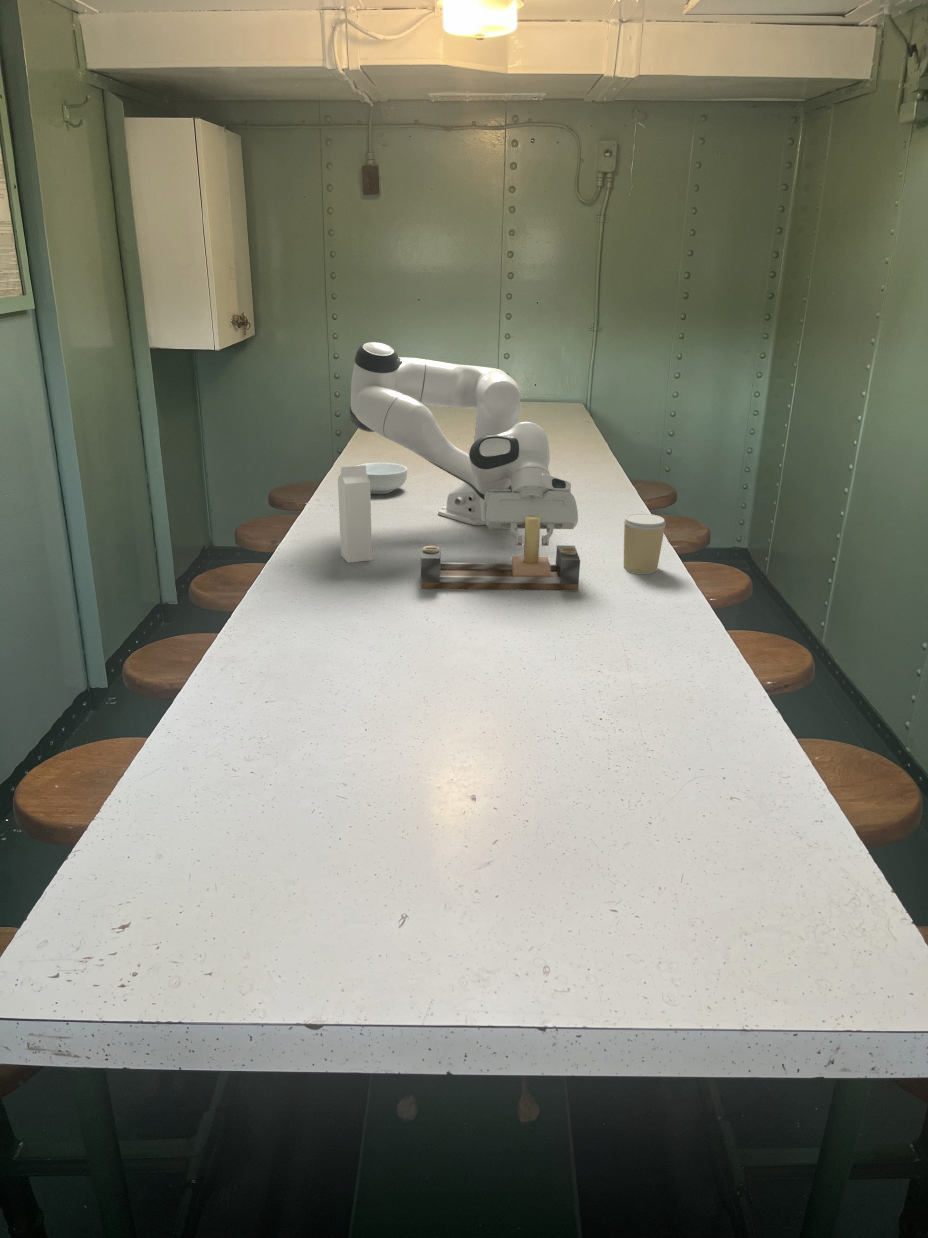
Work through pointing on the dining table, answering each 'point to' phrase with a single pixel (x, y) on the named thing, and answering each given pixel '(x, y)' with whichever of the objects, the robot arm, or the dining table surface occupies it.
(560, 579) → the rail track
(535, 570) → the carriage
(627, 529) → the coffee cup
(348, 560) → the milk
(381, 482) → the cereal bowl
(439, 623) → the dining table surface
